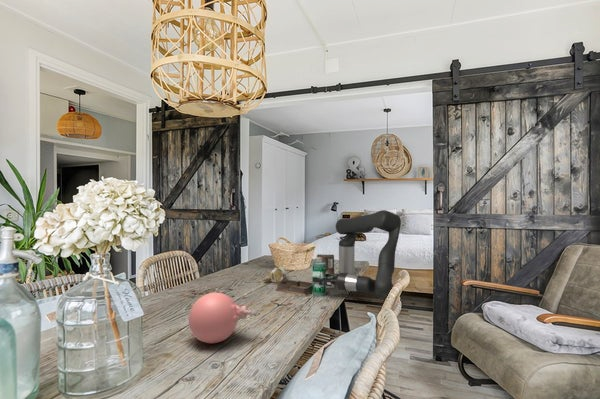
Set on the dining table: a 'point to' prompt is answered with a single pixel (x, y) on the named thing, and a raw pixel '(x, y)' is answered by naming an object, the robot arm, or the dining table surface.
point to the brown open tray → (295, 287)
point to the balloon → (215, 317)
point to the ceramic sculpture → (276, 275)
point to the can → (319, 272)
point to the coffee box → (327, 264)
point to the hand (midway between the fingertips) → (316, 277)
